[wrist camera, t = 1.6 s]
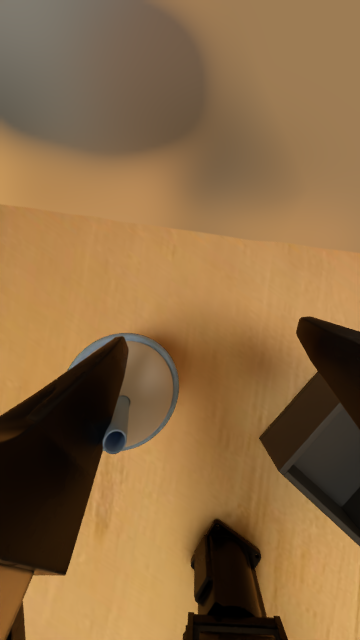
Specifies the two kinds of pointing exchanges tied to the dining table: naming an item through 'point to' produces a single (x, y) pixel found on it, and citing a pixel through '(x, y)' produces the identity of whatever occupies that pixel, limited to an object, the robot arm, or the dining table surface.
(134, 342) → the cup with straw
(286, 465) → the bin
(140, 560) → the dining table surface
